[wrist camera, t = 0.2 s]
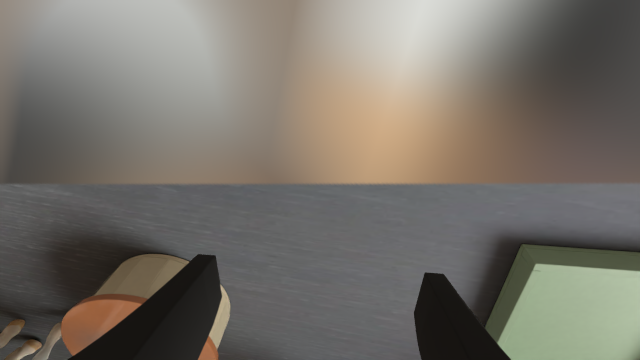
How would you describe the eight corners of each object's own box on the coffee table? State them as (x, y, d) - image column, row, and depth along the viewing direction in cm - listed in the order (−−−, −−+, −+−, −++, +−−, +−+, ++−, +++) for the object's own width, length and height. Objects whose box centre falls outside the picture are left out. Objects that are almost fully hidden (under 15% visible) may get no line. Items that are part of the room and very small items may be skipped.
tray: (632, 379, 28) (650, 403, 26) (468, 365, 29) (475, 387, 27) (741, 259, 21) (775, 281, 19) (521, 243, 22) (535, 263, 20)
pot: (236, 340, 30) (219, 391, 26) (130, 331, 30) (99, 379, 26) (223, 258, 25) (200, 305, 21) (96, 248, 25) (51, 293, 21)
